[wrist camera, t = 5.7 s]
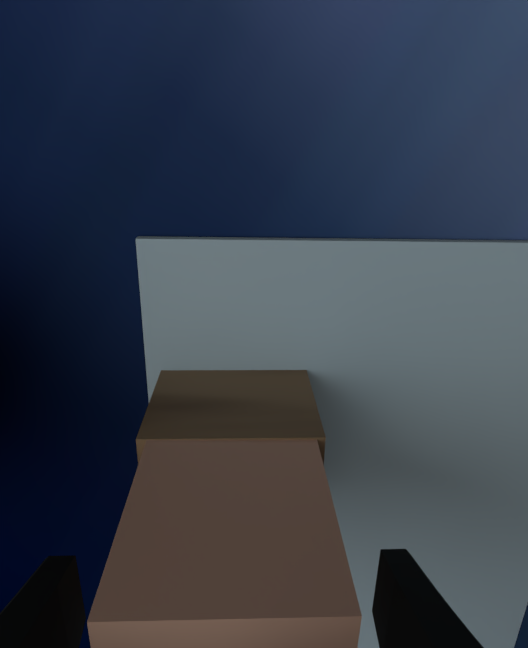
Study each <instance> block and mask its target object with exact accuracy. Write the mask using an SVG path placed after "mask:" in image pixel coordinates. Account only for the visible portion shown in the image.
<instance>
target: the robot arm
mask: <svg viewBox="0 0 528 648" xmlns="http://www.w3.org/2000/svg"><path fill="white" fill-rule="evenodd" d="M372 613H373V618H374V623H375V628H376V634H377V638H378V643H379V648H484V647H483V646H482V645H481V644H480V643H479V641H478V640H477V639H476V638H475V637H474V635H473V634H472V633H471V632H470V631H469V629H468V628H467V627H466V626H465V624H464V623H463V622H462V621H461V620H460V618H459V617H458V616H457V615H456V613H455V612H454V611H453V610H452V608H451V607H450V606H449V605H448V603H447V602H446V601H445V599H444V598H443V597H442V596H441V594H440V593H439V592H438V590H437V589H436V588H435V586H434V585H433V584H432V582H431V581H430V580H429V578H428V577H427V576H426V574H425V573H424V572H423V570H422V569H421V568H420V566H419V565H418V564H417V562H416V561H415V559H414V558H413V557H412V555H411V554H410V553H409V552H408V551H407V550H406V549H381V550H380V557H379V564H378V571H377V578H376V585H375V592H374V600H373V607H372ZM85 619H86V616H85V610H84V604H83V598H82V592H81V586H80V580H79V574H78V568H77V562H76V556H48V557H47V558H46V559H45V560H44V561H43V563H42V564H41V565H40V566H39V567H38V569H37V570H36V571H35V572H34V573H33V575H32V576H31V577H30V578H29V579H28V581H27V582H26V583H25V584H24V586H23V587H22V588H21V589H20V590H19V592H18V593H17V594H16V595H15V596H14V598H13V599H12V600H11V601H10V602H9V603H8V605H7V606H6V607H5V608H4V609H3V610H2V612H1V613H0V648H79V645H80V640H81V636H82V632H83V628H84V624H85Z"/></svg>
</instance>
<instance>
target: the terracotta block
mask: <svg viewBox="0 0 528 648" xmlns="http://www.w3.org/2000/svg"><path fill="white" fill-rule="evenodd" d="M361 619H362V615H361V611H360V607H359V603H358V599H357V595H356V591H355V587H354V583H353V579H352V575H351V571H350V567H349V563H348V559H347V555H346V552H345V548H344V544H343V540H342V536H341V532H340V528H339V524H338V520H337V516H336V512H335V508H334V504H333V500H332V496H331V492H330V488H329V484H328V480H327V476H326V473H325V469H324V465H323V461H322V457H321V453H320V449H319V445H318V441H317V440H146V443H145V446H144V449H143V452H142V455H141V458H140V461H139V465H138V468H137V471H136V474H135V477H134V480H133V483H132V486H131V489H130V492H129V495H128V498H127V501H126V504H125V507H124V510H123V514H122V517H121V520H120V523H119V526H118V529H117V532H116V535H115V538H114V541H113V544H112V547H111V550H110V553H109V556H108V560H107V563H106V566H105V569H104V572H103V575H102V578H101V581H100V584H99V587H98V590H97V593H96V596H95V599H94V602H93V605H92V609H91V612H90V615H89V618H88V621H87V625H88V632H89V638H90V645H91V648H357V647H358V640H359V633H360V626H361Z"/></svg>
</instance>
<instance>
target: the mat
mask: <svg viewBox="0 0 528 648" xmlns="http://www.w3.org/2000/svg"><path fill="white" fill-rule="evenodd" d="M136 250H137V262H138V275H139V287H140V300H141V312H142V324H143V337H144V349H145V362H146V374H147V387H148V399H149V402H150V399H151V396H152V394H153V391H154V388H155V385H156V383H157V380H158V377H159V374H160V372H161V370H307V373H308V377H309V380H310V384H311V387H312V391H313V394H314V398H315V401H316V405H317V408H318V412H319V415H320V419H321V422H322V426H323V429H324V433H325V436H326V441H325V454H324V469H325V473H326V476H327V480H328V484H329V488H330V492H331V496H332V500H333V504H334V508H335V512H336V516H337V520H338V524H339V528H340V532H341V536H342V540H343V544H344V548H345V552H346V555H347V559H348V563H349V567H350V571H351V575H352V579H353V583H354V587H355V591H356V595H357V599H358V603H359V607H360V611H361V615H362V619H361V626H360V633H359V640H358V647H357V648H379V643H378V638H377V634H376V628H375V623H374V618H373V613H372V607H373V600H374V592H375V585H376V578H377V571H378V564H379V557H380V550H381V549H406V550H407V551H408V552H409V553H410V554H411V555H412V557H413V558H414V559H415V561H416V562H417V564H418V565H419V566H420V568H421V569H422V570H423V572H424V573H425V574H426V576H427V577H428V578H429V580H430V581H431V582H432V584H433V585H434V586H435V588H436V589H437V590H438V592H439V593H440V594H441V596H442V597H443V598H444V599H445V601H446V602H447V603H448V605H449V606H450V607H451V608H452V610H453V611H454V612H455V613H456V615H457V616H458V617H459V618H460V620H461V621H462V622H463V623H464V624H465V626H466V627H467V628H468V629H469V631H470V632H471V633H472V634H473V635H474V637H475V638H476V639H477V640H478V641H479V643H480V644H481V645H482V646H483V647H484V648H514V646H515V642H516V639H517V636H518V632H519V629H520V626H521V623H522V619H523V616H524V613H525V610H526V606H527V603H528V240H437V239H341V238H245V237H149V236H138V237H137V238H136Z"/></svg>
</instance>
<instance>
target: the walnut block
mask: <svg viewBox="0 0 528 648" xmlns="http://www.w3.org/2000/svg"><path fill="white" fill-rule="evenodd" d="M146 440H317V441H318V445H319V449H320V453H321V457H322V461H323V465H324V454H325V441H326V436H325V433H324V429H323V426H322V422H321V419H320V415H319V412H318V408H317V405H316V401H315V398H314V394H313V391H312V387H311V384H310V380H309V377H308V373H307V370H161V372H160V374H159V377H158V380H157V383H156V385H155V388H154V391H153V394H152V396H151V399H150V402H149V405H148V407H147V410H146V413H145V416H144V419H143V421H142V424H141V427H140V430H139V432H138V435H137V438H136V445H137V456H138V465H139V461H140V458H141V455H142V452H143V449H144V446H145V443H146Z"/></svg>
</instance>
